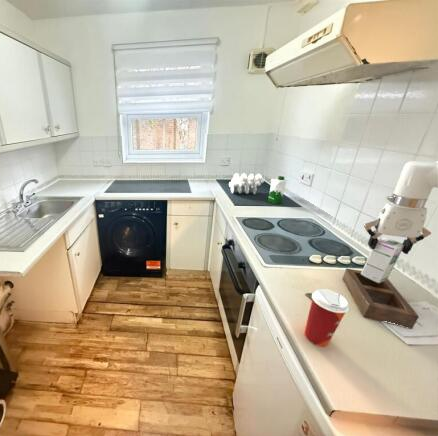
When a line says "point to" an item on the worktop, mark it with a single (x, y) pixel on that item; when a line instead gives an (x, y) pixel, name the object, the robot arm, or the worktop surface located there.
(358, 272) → the holder
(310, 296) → the meat cleaver
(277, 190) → the milk carton
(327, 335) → the coffee cup
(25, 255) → the worktop surface
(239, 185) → the white lumpy cluster
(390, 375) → the worktop surface
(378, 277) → the syrup box
